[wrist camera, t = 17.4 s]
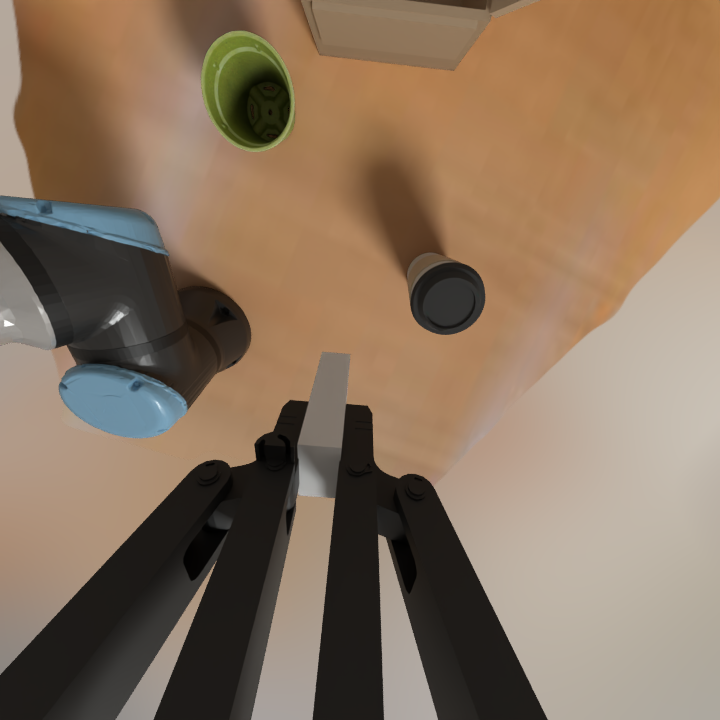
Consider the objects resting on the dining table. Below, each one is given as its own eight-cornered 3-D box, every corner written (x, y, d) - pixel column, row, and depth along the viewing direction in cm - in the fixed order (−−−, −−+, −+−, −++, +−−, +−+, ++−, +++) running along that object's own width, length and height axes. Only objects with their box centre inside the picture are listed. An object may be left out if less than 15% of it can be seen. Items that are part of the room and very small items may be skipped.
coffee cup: (427, 231, 44) (452, 249, 31) (469, 268, 47) (509, 299, 34) (388, 280, 48) (397, 314, 35) (429, 311, 50) (452, 354, 38)
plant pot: (310, 159, 40) (297, 152, 32) (241, 157, 40) (212, 150, 32) (305, 65, 35) (289, 31, 28) (227, 63, 35) (189, 29, 28)
